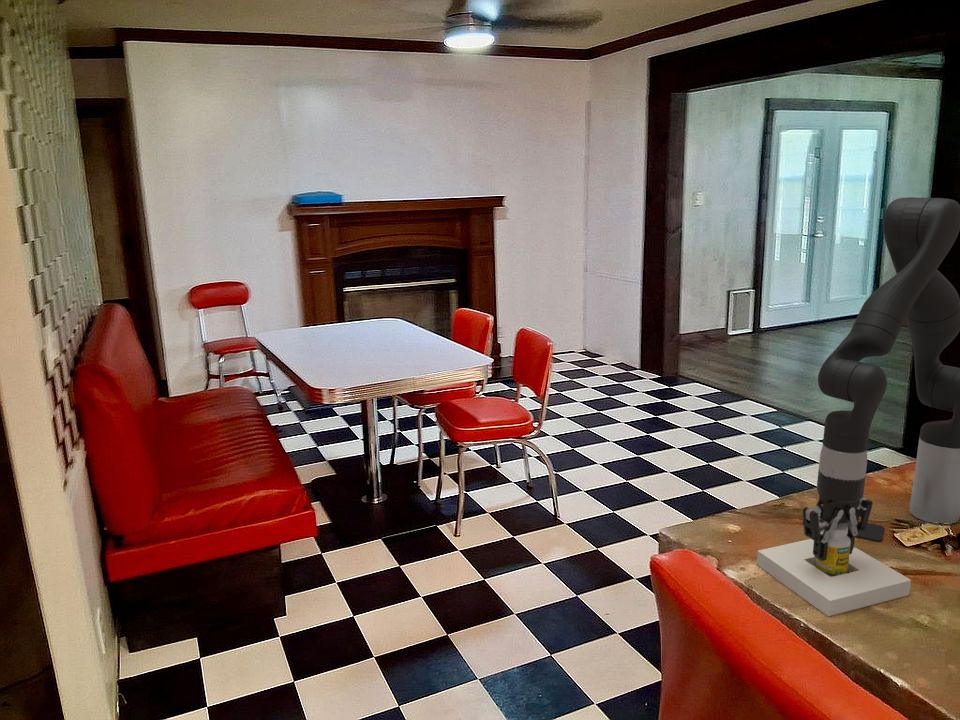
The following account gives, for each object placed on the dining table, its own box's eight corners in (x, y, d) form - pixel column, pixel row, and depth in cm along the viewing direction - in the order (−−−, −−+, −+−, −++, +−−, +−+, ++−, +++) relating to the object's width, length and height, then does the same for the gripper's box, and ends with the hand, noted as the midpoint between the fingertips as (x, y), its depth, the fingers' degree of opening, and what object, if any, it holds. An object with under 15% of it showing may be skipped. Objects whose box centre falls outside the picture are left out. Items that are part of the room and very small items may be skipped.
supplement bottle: (825, 561, 137) (830, 515, 134) (853, 574, 132) (858, 526, 130) (808, 570, 134) (813, 523, 132) (836, 583, 130) (841, 535, 127)
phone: (807, 510, 160) (884, 526, 152) (807, 513, 160) (884, 529, 152) (801, 523, 154) (881, 541, 146) (801, 527, 154) (881, 544, 146)
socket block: (830, 547, 144) (832, 534, 144) (909, 595, 128) (911, 580, 127) (756, 564, 139) (757, 550, 138) (828, 616, 122) (830, 600, 122)
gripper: (856, 456, 134) (847, 539, 138) (793, 468, 129) (786, 553, 134) (891, 471, 127) (880, 558, 131) (825, 484, 122) (816, 573, 127)
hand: (832, 555), depth 132 cm, fingers closed on supplement bottle, 5 cm apart
